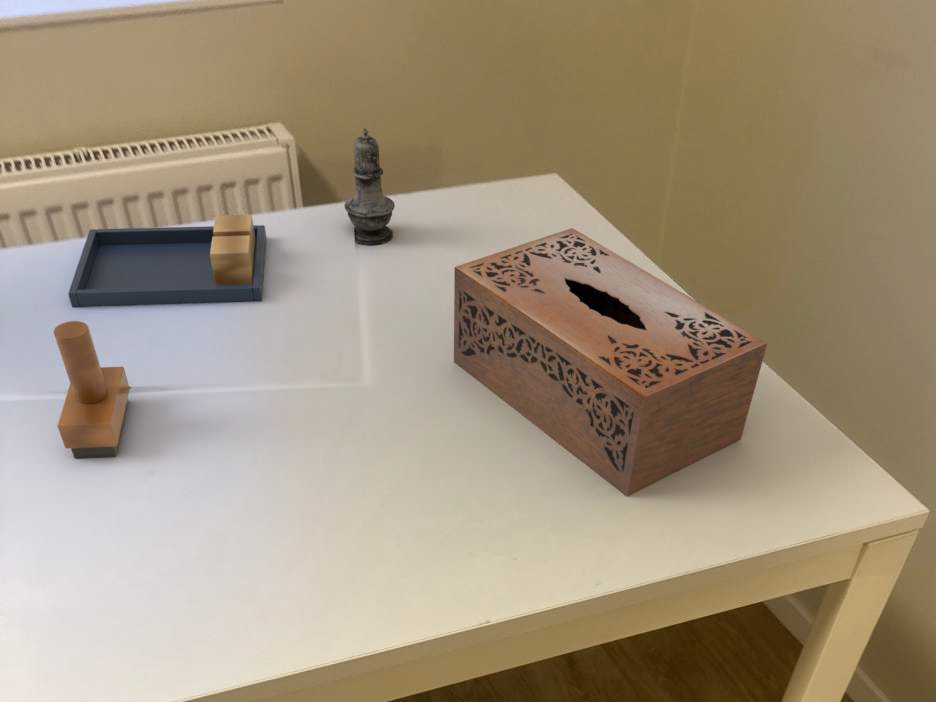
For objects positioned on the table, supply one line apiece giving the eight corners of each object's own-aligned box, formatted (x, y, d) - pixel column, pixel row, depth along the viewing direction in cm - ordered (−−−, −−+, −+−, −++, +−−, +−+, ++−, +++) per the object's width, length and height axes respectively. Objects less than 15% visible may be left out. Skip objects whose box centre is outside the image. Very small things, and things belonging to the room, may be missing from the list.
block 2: (216, 289, 104) (209, 253, 101) (218, 271, 107) (212, 236, 104) (253, 288, 104) (248, 252, 101) (255, 270, 107) (250, 235, 104)
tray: (73, 314, 101) (67, 293, 100) (95, 248, 111) (89, 229, 109) (262, 307, 103) (259, 287, 101) (267, 244, 113) (264, 224, 111)
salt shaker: (358, 250, 112) (351, 142, 104) (338, 229, 116) (329, 123, 107) (404, 240, 114) (400, 133, 106) (383, 220, 118) (378, 114, 109)
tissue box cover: (740, 439, 90) (767, 343, 82) (626, 496, 84) (644, 397, 76) (563, 319, 103) (572, 228, 96) (453, 361, 97) (454, 266, 90)
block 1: (219, 266, 107) (212, 231, 104) (221, 249, 110) (215, 215, 107) (255, 265, 108) (250, 230, 105) (257, 248, 110) (251, 214, 107)
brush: (69, 460, 85) (33, 359, 78) (85, 401, 91) (53, 303, 83) (120, 457, 85) (89, 357, 78) (133, 399, 91) (105, 301, 84)
